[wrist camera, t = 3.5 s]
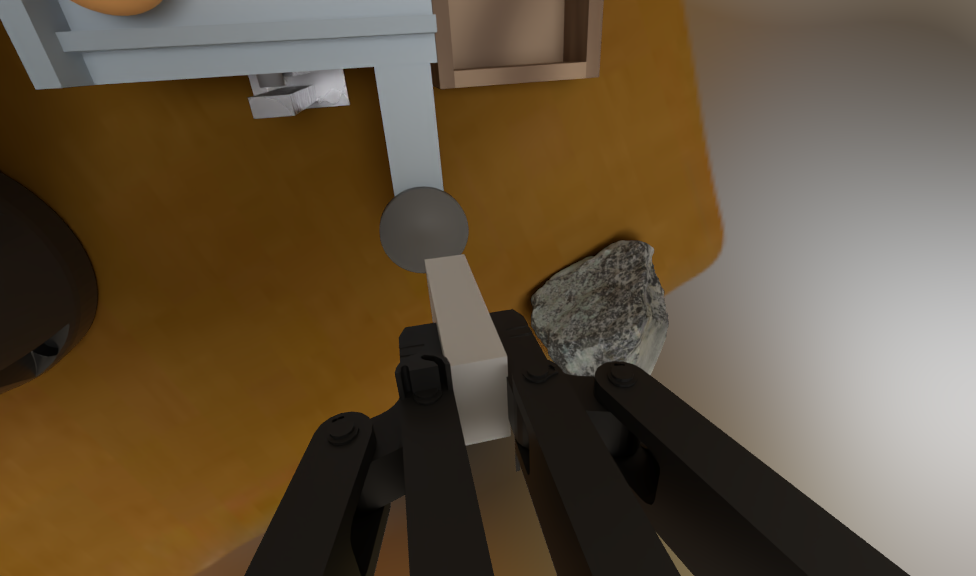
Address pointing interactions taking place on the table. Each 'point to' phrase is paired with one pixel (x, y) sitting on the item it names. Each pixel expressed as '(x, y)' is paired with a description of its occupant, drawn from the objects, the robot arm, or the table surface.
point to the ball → (118, 6)
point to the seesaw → (271, 76)
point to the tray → (515, 41)
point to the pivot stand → (299, 93)
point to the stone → (603, 311)
